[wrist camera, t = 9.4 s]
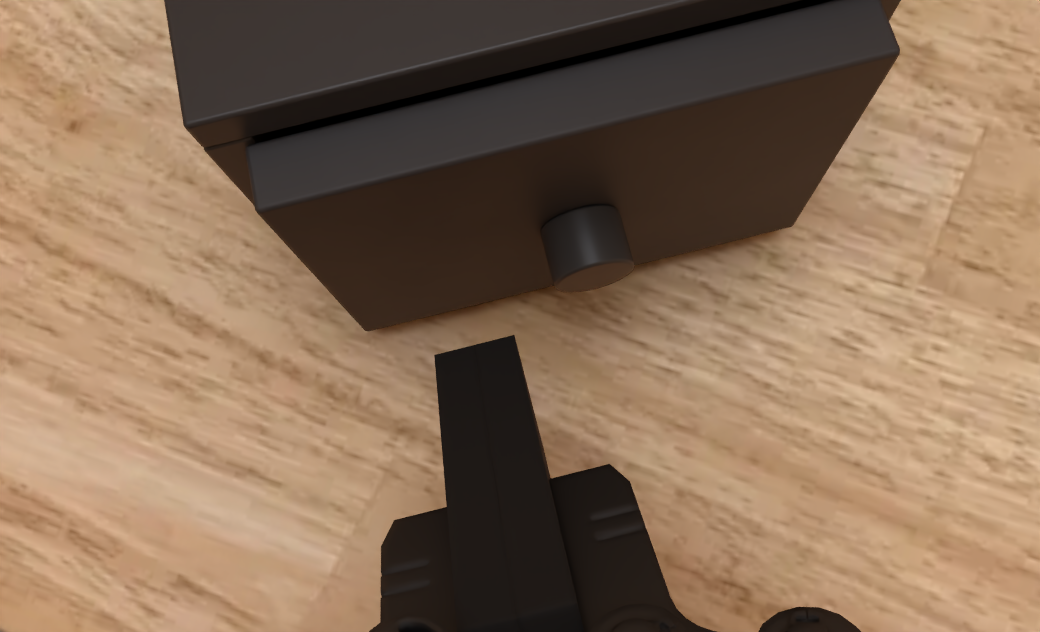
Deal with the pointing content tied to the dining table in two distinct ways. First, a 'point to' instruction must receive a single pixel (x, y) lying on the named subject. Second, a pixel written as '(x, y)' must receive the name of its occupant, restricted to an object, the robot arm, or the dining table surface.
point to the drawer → (574, 162)
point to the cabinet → (385, 53)
